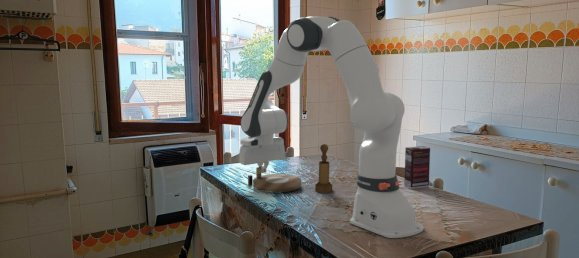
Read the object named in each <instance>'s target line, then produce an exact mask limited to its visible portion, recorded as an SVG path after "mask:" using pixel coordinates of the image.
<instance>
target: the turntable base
mask: <svg viewBox="0 0 579 258" xmlns="http://www.w3.org/2000/svg"><path fill="white" fill-rule="evenodd" d="M253 179H254V178H253V175H252V174H248V175H247V185H248V186H250V187H252V186H253Z"/></svg>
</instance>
